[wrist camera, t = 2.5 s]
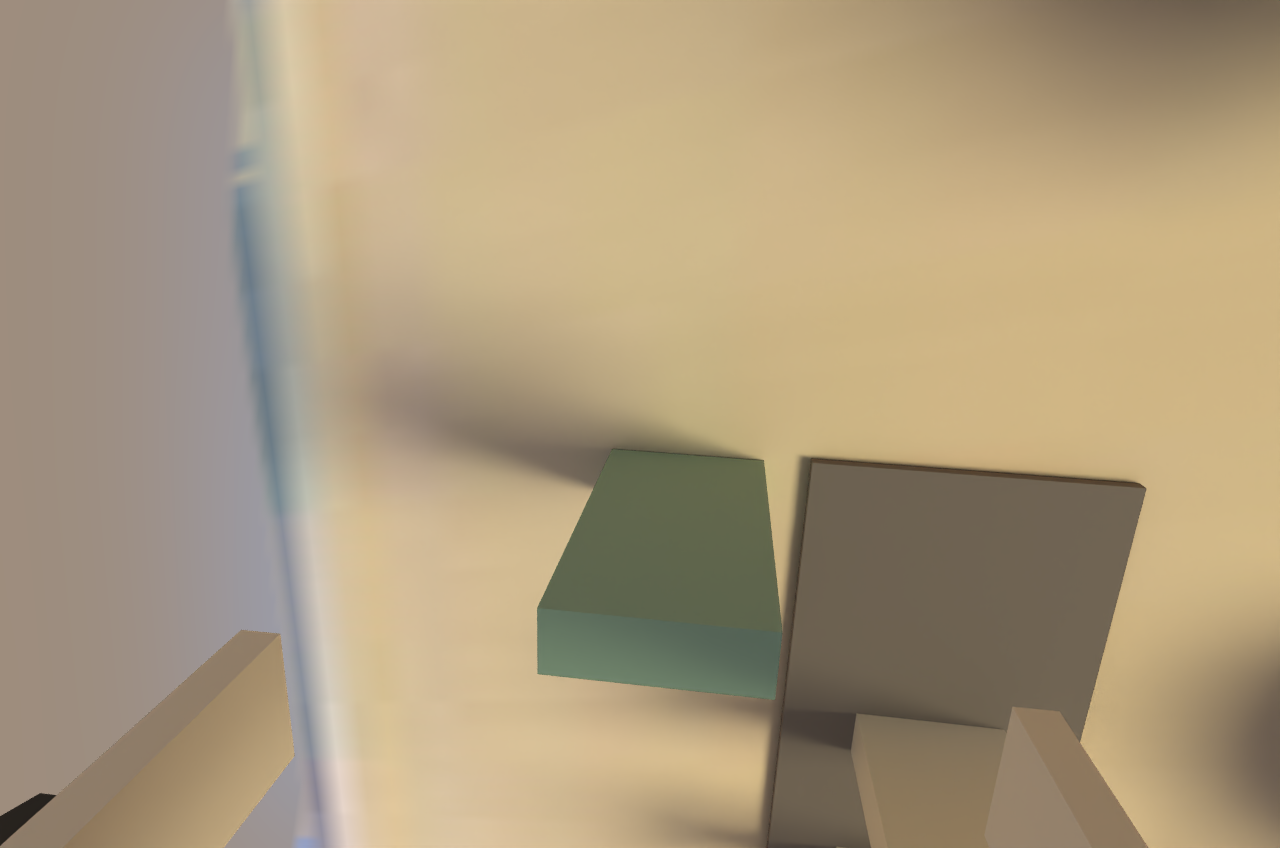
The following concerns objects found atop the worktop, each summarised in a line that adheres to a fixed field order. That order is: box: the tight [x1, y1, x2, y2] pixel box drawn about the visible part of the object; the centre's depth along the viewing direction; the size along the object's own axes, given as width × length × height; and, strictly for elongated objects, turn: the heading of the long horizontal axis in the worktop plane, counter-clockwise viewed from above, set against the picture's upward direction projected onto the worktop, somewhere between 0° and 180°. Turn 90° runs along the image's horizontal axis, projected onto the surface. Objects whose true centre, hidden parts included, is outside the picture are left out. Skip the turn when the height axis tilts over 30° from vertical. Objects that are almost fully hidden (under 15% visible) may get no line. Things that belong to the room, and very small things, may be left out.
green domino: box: [537, 449, 782, 700], centre depth 20 cm, size 2×5×10 cm, turn 88°
